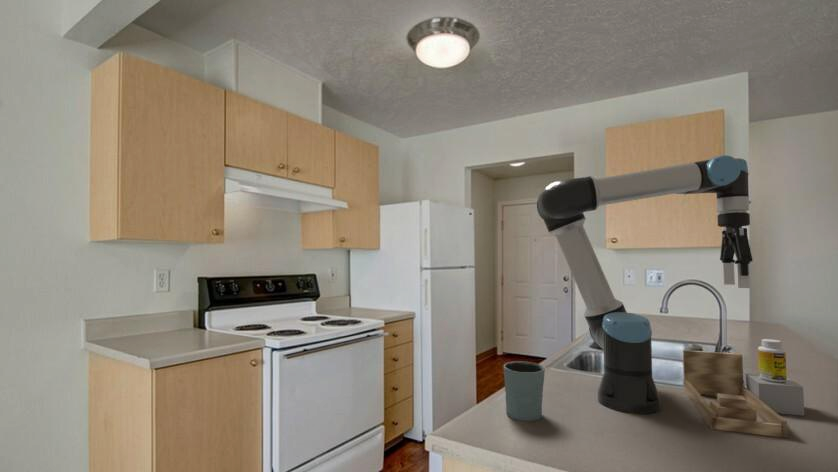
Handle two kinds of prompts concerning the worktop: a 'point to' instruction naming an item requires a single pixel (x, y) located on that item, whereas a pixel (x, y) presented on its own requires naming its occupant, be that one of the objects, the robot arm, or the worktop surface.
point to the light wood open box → (726, 392)
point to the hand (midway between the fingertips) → (736, 286)
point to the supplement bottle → (772, 361)
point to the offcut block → (731, 401)
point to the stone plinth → (778, 394)
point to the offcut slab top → (734, 412)
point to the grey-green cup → (524, 390)
